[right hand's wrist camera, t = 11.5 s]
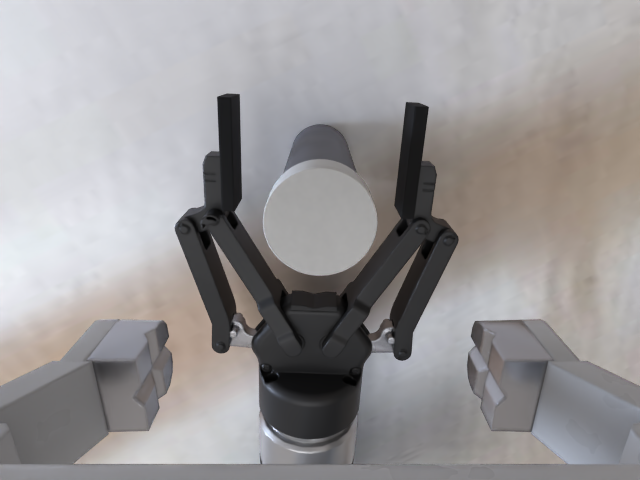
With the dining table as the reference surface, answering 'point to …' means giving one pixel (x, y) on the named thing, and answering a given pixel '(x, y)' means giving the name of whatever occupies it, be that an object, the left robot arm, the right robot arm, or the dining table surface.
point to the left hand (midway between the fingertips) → (323, 99)
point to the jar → (320, 147)
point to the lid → (320, 218)
